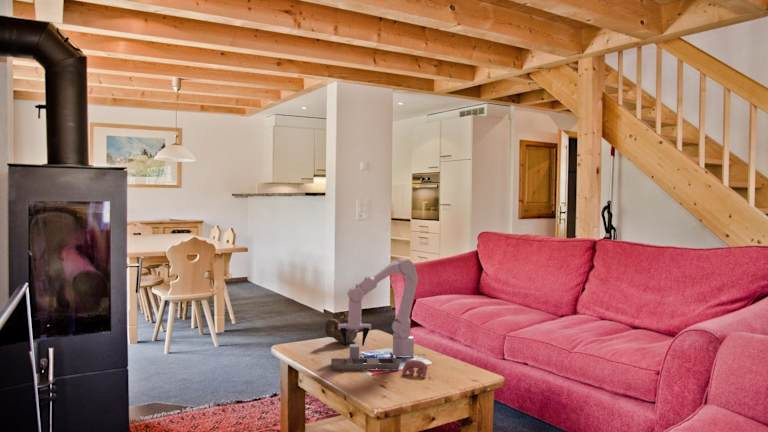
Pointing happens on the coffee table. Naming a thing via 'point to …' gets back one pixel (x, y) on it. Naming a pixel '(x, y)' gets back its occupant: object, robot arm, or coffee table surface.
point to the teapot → (336, 332)
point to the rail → (357, 364)
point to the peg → (354, 350)
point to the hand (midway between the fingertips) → (354, 345)
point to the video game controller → (415, 364)
